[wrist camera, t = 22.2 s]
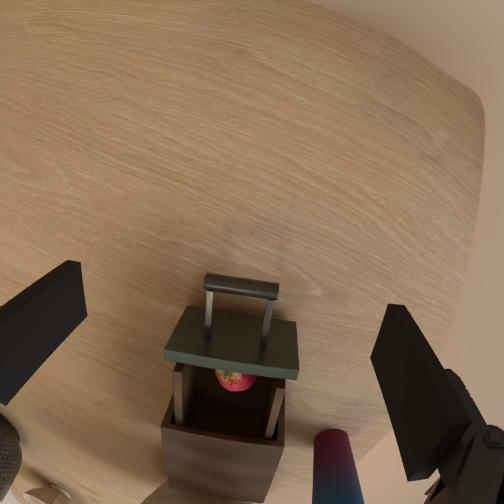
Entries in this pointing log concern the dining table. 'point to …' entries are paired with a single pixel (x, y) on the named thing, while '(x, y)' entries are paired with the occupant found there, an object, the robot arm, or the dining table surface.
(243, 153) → the dining table surface
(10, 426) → the planter
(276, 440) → the cabinet
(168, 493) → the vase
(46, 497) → the bowl
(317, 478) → the cup
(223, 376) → the fruit
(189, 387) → the drawer
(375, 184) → the dining table surface
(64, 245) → the dining table surface
